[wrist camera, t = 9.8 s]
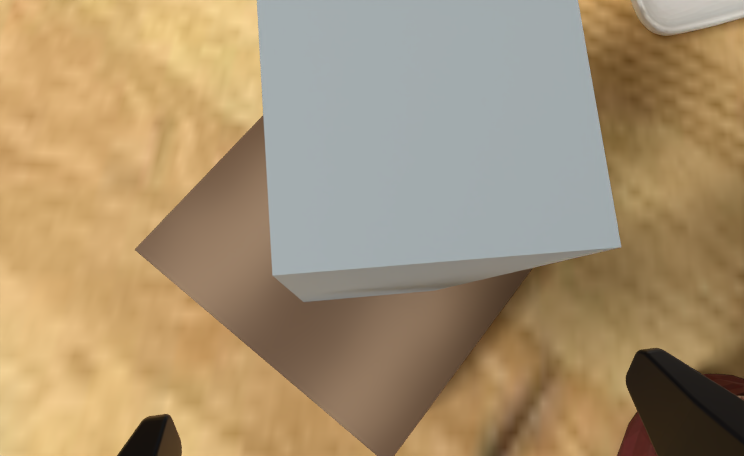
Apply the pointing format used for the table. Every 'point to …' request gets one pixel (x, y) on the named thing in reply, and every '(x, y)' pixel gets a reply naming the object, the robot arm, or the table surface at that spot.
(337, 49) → the slate pillar
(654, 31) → the salad plate
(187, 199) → the walnut block
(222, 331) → the table surface
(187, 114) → the table surface
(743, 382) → the lantern
